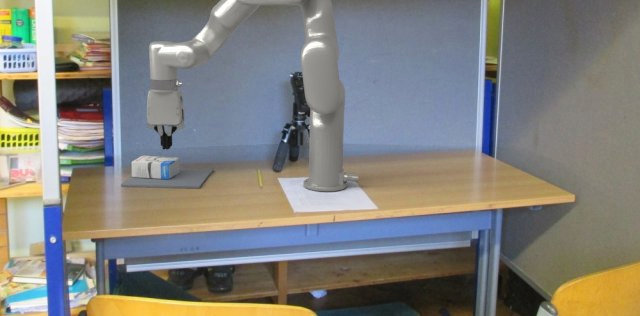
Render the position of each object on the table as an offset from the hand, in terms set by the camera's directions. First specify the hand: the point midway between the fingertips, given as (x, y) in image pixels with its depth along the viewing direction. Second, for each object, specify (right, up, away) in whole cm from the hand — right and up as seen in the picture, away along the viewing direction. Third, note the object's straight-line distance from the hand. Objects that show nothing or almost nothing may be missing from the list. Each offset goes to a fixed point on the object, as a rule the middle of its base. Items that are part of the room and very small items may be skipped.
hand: (166, 148), depth 190 cm
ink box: (+2, -6, +2) cm, 7 cm away
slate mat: (0, -9, +2) cm, 9 cm away
